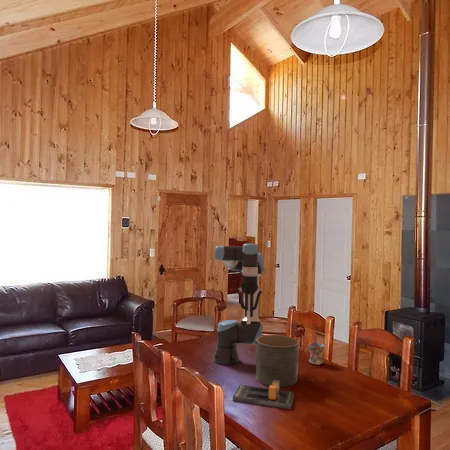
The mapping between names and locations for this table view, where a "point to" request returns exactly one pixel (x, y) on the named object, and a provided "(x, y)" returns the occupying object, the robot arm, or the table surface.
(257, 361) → the planter
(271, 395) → the handle
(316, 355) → the mug
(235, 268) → the robot arm
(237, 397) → the panel
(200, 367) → the table surface
